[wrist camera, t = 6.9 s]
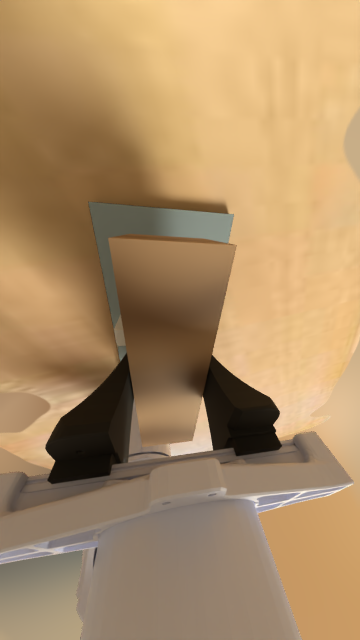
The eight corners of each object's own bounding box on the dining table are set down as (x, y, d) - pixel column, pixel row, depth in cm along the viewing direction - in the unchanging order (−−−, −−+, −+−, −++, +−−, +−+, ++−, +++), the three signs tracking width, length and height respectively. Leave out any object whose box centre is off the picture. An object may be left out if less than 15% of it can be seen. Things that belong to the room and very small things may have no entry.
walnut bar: (184, 395, 20) (192, 440, 15) (145, 398, 19) (142, 447, 15) (204, 238, 10) (236, 245, 6) (129, 233, 10) (108, 237, 5)
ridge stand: (199, 373, 25) (206, 395, 22) (125, 378, 24) (120, 403, 20) (229, 215, 14) (252, 211, 11) (92, 203, 12) (68, 194, 9)
